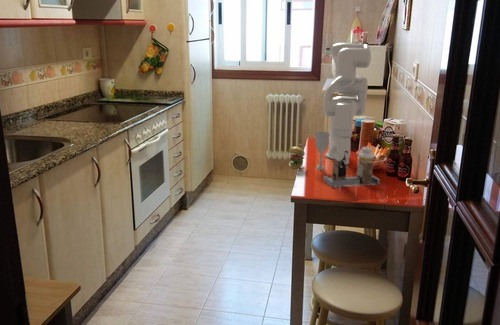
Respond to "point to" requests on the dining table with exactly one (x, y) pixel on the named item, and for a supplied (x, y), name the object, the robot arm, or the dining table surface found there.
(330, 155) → the robot arm
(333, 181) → the rail
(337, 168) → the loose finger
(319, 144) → the chalice
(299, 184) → the dining table surface
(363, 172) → the mounted finger
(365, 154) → the supplement bottle
